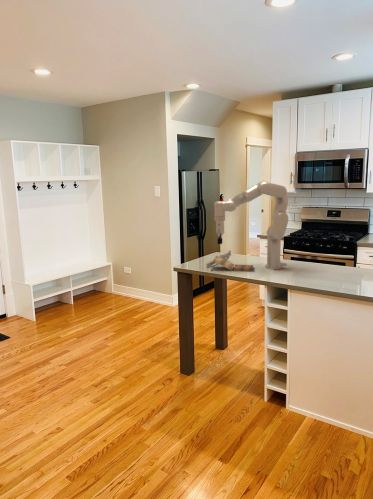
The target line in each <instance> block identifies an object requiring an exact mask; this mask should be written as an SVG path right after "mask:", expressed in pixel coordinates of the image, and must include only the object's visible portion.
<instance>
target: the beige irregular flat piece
mask: <svg viewBox="0 0 373 499" xmlns="http://www.w3.org/2000/svg"><path fill="white" fill-rule="evenodd" d="M212 260H213V261H214V262H216V263H215V264H218V265H219V266H221V267H226V268H228V269H230V270H232V269H233V267H235V264H234V263H233V262H230V261H229V260H227V261H226V260H224V259H222V258H220V257H219V256H217V255H216V256H214V259H212Z"/></svg>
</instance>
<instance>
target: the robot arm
mask: <svg viewBox="0 0 373 499" xmlns="http://www.w3.org/2000/svg"><path fill="white" fill-rule="evenodd" d="M287 192H288V191H287V188H286V187H285V186H284V185H281V184H277V183H271V182H268V181H259V182H257V183H256V184H255V185H252V186H251V187H249V188H247V189H244V191H242V192H241V193H238V194H237V195H234V196H233V197H230V198H229V199H227V200H226V201H224V200H223V201H221V200H219V201H215V202H214V208H213V209H214V222H215V228H216V229H215V230H216V231H215V232H216V235H217V244H218V245H222V244H223V235H224V234H225V221H226V212H234V211H236V209H237V207H239V206H240V205H243V204H247V203H249V202H250V203H251V202H252V201H253V200H255V199H257V198H258V197H260V196H261V197H262V195H266V196H271V197H274V200H275V204H274V208H273V213H272V214H271V220H272V222H273V223H272V225H269V226H268V227H267V230H266V241H267V242H266V243H267V246H266V252H267V254H266V264H265V265H264V268H265V269H267V270H280V269H283V267H287V264H288V263H287V262H281V250H282V248H281V247H282V246H281V243H282V241H281V240H282V239H283V237H284V236H285V234H286V230H287V227H288V223H289V216H288V214H287V209H288V205H289V198H288V194H287Z"/></svg>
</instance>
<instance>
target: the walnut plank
mask: <svg viewBox="0 0 373 499" xmlns="http://www.w3.org/2000/svg"><path fill="white" fill-rule="evenodd" d="M253 267H254V264H234V271H233V272H241V271H253Z"/></svg>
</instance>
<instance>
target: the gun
mask: <svg viewBox="0 0 373 499" xmlns="http://www.w3.org/2000/svg"><path fill="white" fill-rule="evenodd" d="M231 252H232V251H231V250H227V252H226V253H223V254H220V255H219V256H218V257H220V258H222V259H224V260H226V261H229V258H230V257H231V255H232V253H231ZM213 260H214V259H212V260H210V261H208V262H206V264H205V266H206V268H207V269H209V268H210V267H213V265H215V264H217V263H216V262H214V261H213Z"/></svg>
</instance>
